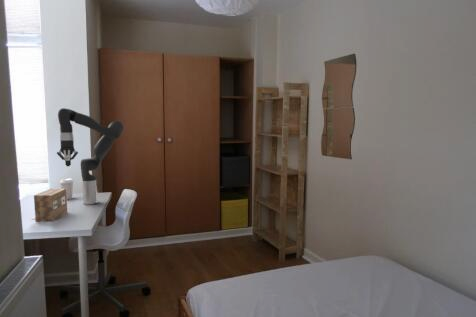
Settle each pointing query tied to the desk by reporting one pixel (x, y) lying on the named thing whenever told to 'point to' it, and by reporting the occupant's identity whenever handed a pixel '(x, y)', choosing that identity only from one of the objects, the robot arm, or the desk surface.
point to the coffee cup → (67, 187)
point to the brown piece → (49, 205)
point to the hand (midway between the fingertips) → (68, 166)
